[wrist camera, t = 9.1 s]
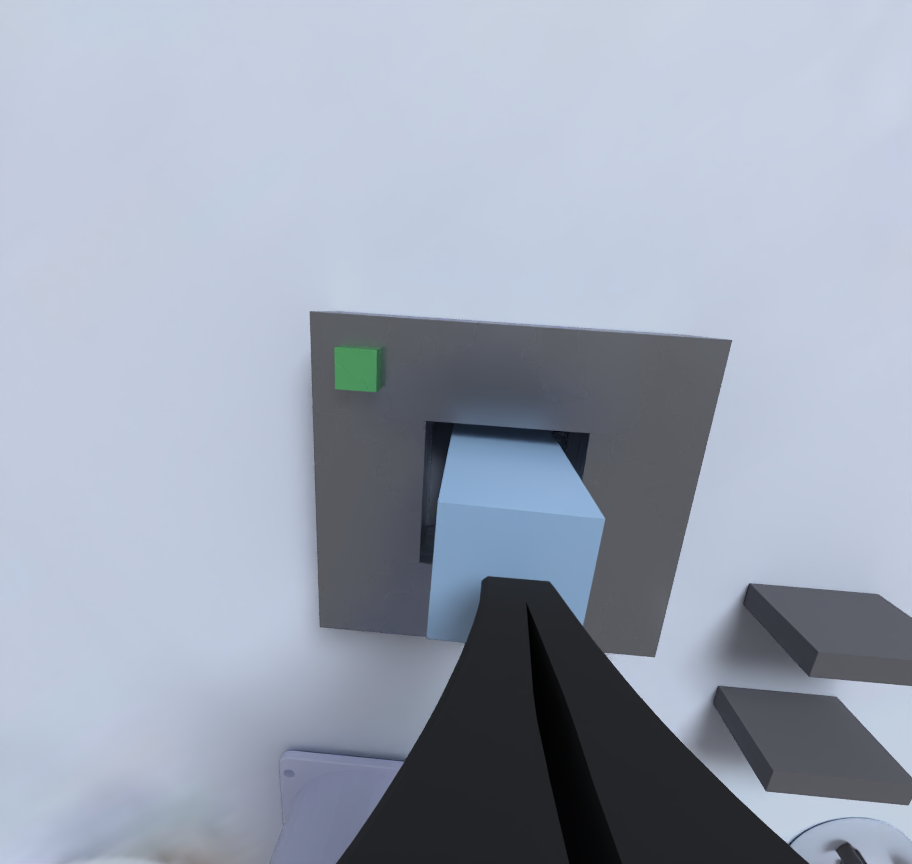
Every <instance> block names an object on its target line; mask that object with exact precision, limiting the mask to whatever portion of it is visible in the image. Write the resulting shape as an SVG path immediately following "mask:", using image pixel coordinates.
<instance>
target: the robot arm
mask: <svg viewBox="0 0 912 864" xmlns="http://www.w3.org/2000/svg"><path fill="white" fill-rule="evenodd" d="M279 773H280V787H281V801H282V814H283V829H282V832H281V834H280V837H279V840H278V842H277V845H276V848H275V850H274V853H273V856H272V858H271V861H270V864H809V863H808V862H807V861H806V860H805V859H804V858H803V857H801V856H800V855H799V854H798V853H797V852H796V851H795V850H794V849H793V848H791V847H790V846H789V845H788V844H787V843H786V842H785V841H784V840H782V839H781V838H780V837H779V836H778V835H777V834H776V833H775V832H774V831H772V830H771V829H770V828H769V827H768V826H767V825H766V824H765V823H764V822H763V821H762V820H761V819H759V818H758V817H757V816H756V815H755V814H754V813H753V812H752V811H751V810H750V809H749V808H748V807H747V806H746V805H745V804H743V803H742V802H741V801H740V800H739V799H738V798H737V797H736V796H735V795H734V794H733V793H732V792H731V791H730V790H729V789H728V788H727V787H726V786H725V785H724V784H723V783H722V782H721V781H720V780H719V779H718V778H717V777H716V776H715V775H714V774H713V773H712V772H711V771H710V770H709V769H708V768H707V767H706V766H705V765H704V764H703V763H702V762H701V761H700V760H699V759H698V758H697V757H696V756H695V755H694V754H693V753H692V752H691V751H690V750H689V749H688V748H687V747H686V746H685V745H684V744H683V743H682V742H681V741H680V740H679V739H678V738H677V737H676V736H675V735H674V734H673V733H672V732H671V731H670V729H669V728H668V727H667V726H666V725H665V724H664V723H663V722H662V721H661V720H660V719H659V717H658V716H657V715H656V714H655V713H654V712H653V711H652V710H651V708H650V707H649V706H648V705H647V704H646V703H645V702H644V701H643V699H642V698H641V697H640V696H639V695H638V694H637V693H636V691H635V690H634V689H633V688H632V687H631V686H630V684H629V683H628V682H627V681H626V680H625V678H624V677H623V676H622V675H621V674H620V672H619V671H618V670H617V669H616V667H615V666H614V665H613V664H612V663H611V661H610V660H609V659H608V658H607V656H606V655H605V654H604V653H603V651H602V650H601V649H600V648H599V646H598V645H597V644H596V643H595V641H594V640H593V639H592V637H591V636H590V635H589V633H588V632H587V631H586V630H585V628H584V627H583V626H582V624H581V623H580V622H579V620H578V619H577V618H576V616H575V615H574V613H573V612H572V611H571V609H570V608H569V607H568V605H567V604H566V602H565V601H564V600H563V598H562V597H561V596H560V594H559V593H558V591H557V590H556V589H555V587H554V586H553V585H552V584H551V582H550V581H540V580H528V579H517V578H505V577H493V576H487V577H486V578H484V579H483V580H482V581H481V591H480V601H479V605H478V609H477V612H476V615H475V619H474V622H473V625H472V627H471V630H470V633H469V635H468V638H467V641H466V643H465V646H464V648H463V651H462V653H461V656H460V658H459V660H458V662H457V664H456V667H455V669H454V671H453V673H452V675H451V677H450V679H449V681H448V683H447V686H446V688H445V690H444V692H443V694H442V696H441V698H440V700H439V702H438V704H437V706H436V707H435V709H434V711H433V713H432V715H431V717H430V719H429V720H428V722H427V724H426V726H425V728H424V729H423V731H422V733H421V735H420V736H419V738H418V740H417V742H416V743H415V745H414V747H413V748H412V750H411V752H410V754H409V755H408V757H407V758H406V760H405V762H404V761H394V760H384V759H373V758H363V757H353V756H343V755H333V754H323V753H313V752H302V751H292V750H291V751H286V752H284V753H283V754H282V756H281V758H280V761H279Z"/></svg>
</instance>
